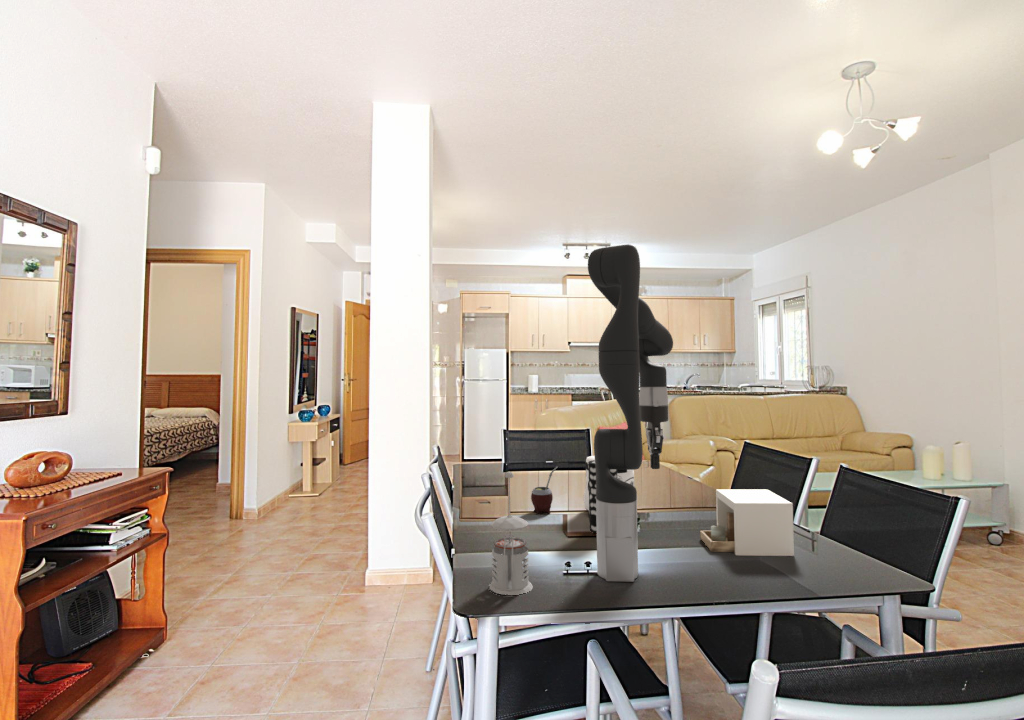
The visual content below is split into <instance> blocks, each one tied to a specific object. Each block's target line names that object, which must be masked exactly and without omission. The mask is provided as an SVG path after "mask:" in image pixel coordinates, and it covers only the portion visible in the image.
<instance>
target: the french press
mask: <svg viewBox="0 0 1024 720" xmlns="http://www.w3.org/2000/svg"><path fill="white" fill-rule="evenodd" d="M504 477H505V479H508V514H509V515H504V516H500V517H498V518H496V519H495V520H493V521H492V522H491V523H490V525H491V527H492V528H493V529H495V530H498V531H501V532H502V531H503V532H504V531H505V532H509V535H511V532H512V531H513V532H515V531H519V530H522V529H525V528H526V527H527V526H528V525H529V522H528V521H527V520H526V519H523V518H521V517H519V516H516V515H511V479H512V478H514V473H513V472H512V471H507V472H505V473H504ZM511 536H512V537H511ZM511 536H506V535H504V537H499V538H497V539H495V540H494V541H493V544H494V546H493V547H492V549H491V555H492V557H491V561H492V564H491V567H492V570H491V572H492V575H491V576H492V577H491V580H492V581H491V582H490V583H491V584H490V583H489V585H488V586H490V589H491V590H493V591H494V592H496V593H499V594H505V595H506V594H508V595H519V594H523V593H526V594H528V593H529V591H530V592H531V591H533V588H534V586H533V584H532V583H531V582H530V581H529V579H530V577H529V575H528V574H529V569H528V568H529V563H528V562H529V557H527V556H529V548H528V547H527V546H526V545H527V541H526V540H525V539H524V538H522V537H521V538H520V537H515V536H514V535H511ZM527 592H528V593H527ZM523 595H524V594H523ZM519 596H520V595H519Z"/></svg>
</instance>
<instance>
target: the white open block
mask: <svg viewBox="0 0 1024 720" xmlns="http://www.w3.org/2000/svg"><path fill="white" fill-rule="evenodd" d="M715 498H716V499H715V501H716V502H715V504H716V508H715V510H716V525H718V526H723V527H725V528H726V531H727V513H734V539H735V552H734V555H735V556H752V557H753V556H755V557H757V556H758V557H759V556H763V557H764V556H765V557H767V556H770V557H771V556H772V557H776V556H777V557H789V556H790V557H794V556H795V550H794V549H795V547H794V546H795V545H794V543H795V541H794V539H795V538H794V507H793V505H794V504H793V502H792V501H791V502H790V501H789V500H787V499H786V498H784V497H782V496H780V495H778V494H776V493H775V492H773V491H771V490H769V489H768V488H767V489H764V488H763V489H761V488H760V489H758V488H757V489H755V488H754V489H752V488H751V489H750V488H749V489H745V488H743V489H742V488H741V489H731V488H729V489H728V488H727V489H726V488H725V489H724V488H723V489H718V488H717V489H715Z"/></svg>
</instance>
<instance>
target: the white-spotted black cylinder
mask: <svg viewBox="0 0 1024 720" xmlns="http://www.w3.org/2000/svg"><path fill="white" fill-rule="evenodd" d="M609 472H610V473H611V474H612V475H613V476H614V477H615V478H617V469H609ZM588 474H589V511H588V520H589V521H588V524H589V527H588V528H589V530H590V531H591V532H593V533H597V523H596V468H595V460H592V461H589V462H588ZM590 531H589V532H590ZM591 532H590V533H591ZM593 533H592V534H593Z"/></svg>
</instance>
